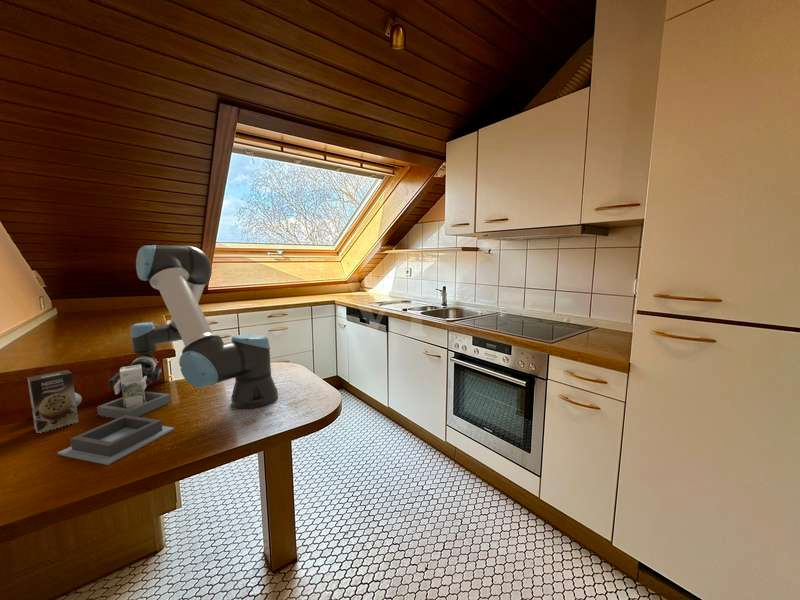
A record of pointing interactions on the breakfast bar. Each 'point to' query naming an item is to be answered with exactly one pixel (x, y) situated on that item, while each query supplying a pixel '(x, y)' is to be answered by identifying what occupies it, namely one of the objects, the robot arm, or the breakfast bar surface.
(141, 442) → the gray flanged tray
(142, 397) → the syrup box
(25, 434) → the breakfast bar surface
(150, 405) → the gray open tray
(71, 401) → the dessert mix box
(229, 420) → the breakfast bar surface
